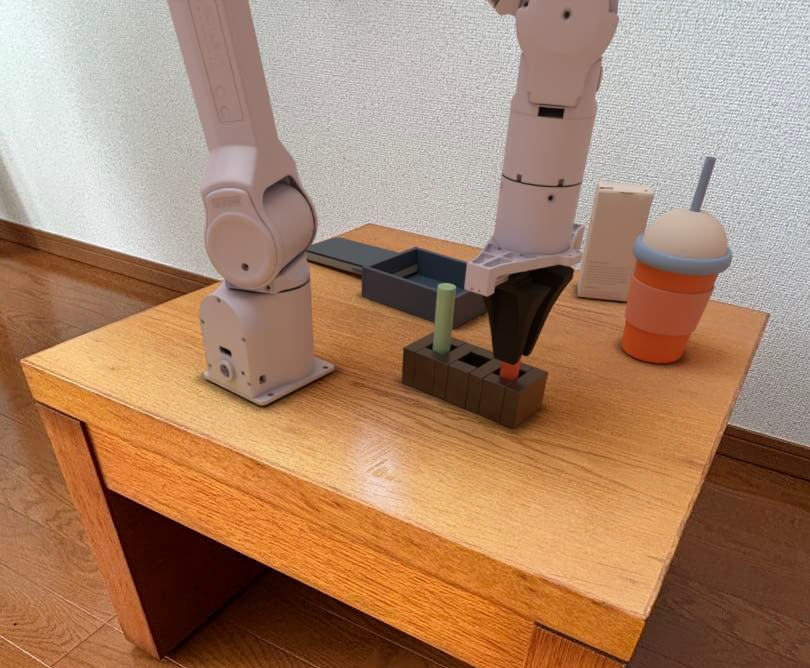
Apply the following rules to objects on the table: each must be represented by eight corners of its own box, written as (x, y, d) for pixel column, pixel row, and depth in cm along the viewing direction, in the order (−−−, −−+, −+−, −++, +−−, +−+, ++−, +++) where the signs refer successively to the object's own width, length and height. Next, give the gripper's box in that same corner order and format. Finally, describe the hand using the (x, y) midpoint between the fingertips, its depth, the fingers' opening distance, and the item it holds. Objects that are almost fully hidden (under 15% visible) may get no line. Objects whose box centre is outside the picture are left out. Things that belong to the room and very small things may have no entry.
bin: (502, 302, 77) (506, 273, 75) (453, 329, 71) (456, 297, 69) (413, 274, 83) (415, 246, 81) (361, 296, 77) (361, 266, 74)
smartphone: (337, 235, 89) (426, 258, 82) (337, 248, 90) (425, 272, 83) (297, 247, 84) (389, 273, 77) (298, 261, 85) (388, 287, 79)
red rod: (506, 413, 58) (523, 314, 52) (491, 407, 58) (506, 308, 53) (515, 407, 59) (533, 308, 53) (500, 401, 59) (516, 303, 54)
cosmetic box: (623, 290, 82) (652, 183, 74) (627, 304, 79) (657, 193, 71) (574, 285, 83) (597, 178, 75) (575, 298, 79) (599, 188, 71)
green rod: (440, 387, 61) (449, 291, 55) (426, 382, 62) (433, 286, 56) (450, 381, 62) (459, 286, 56) (436, 376, 63) (444, 281, 57)
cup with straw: (700, 376, 65) (777, 174, 53) (608, 364, 66) (662, 163, 54) (689, 338, 72) (755, 152, 60) (605, 328, 73) (653, 142, 61)
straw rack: (541, 407, 59) (548, 371, 57) (513, 429, 56) (519, 392, 54) (432, 364, 64) (435, 330, 62) (401, 382, 61) (403, 347, 59)
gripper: (541, 208, 40) (508, 404, 49) (635, 171, 49) (592, 343, 58) (448, 185, 43) (432, 373, 52) (552, 155, 52) (523, 320, 61)
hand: (511, 356), depth 55 cm, fingers closed on red rod, 1 cm apart
